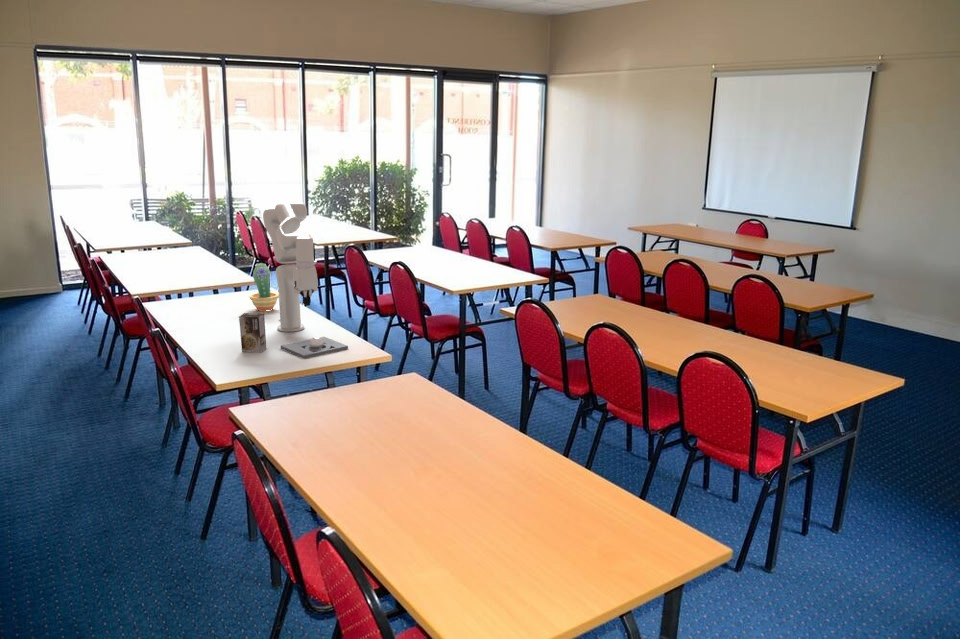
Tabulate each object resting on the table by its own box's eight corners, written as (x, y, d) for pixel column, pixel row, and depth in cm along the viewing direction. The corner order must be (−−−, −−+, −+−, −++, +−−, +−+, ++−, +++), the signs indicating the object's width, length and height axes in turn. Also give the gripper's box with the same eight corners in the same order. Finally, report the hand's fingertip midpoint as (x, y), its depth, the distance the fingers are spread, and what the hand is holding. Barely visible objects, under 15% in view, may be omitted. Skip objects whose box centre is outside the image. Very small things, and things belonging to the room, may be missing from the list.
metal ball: (310, 339, 317) (313, 352, 318) (324, 336, 320) (326, 349, 321) (306, 338, 322) (308, 351, 323) (319, 335, 325) (321, 348, 326)
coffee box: (267, 348, 323) (264, 313, 319) (261, 353, 317) (259, 316, 313) (247, 347, 324) (244, 312, 320) (241, 352, 318) (238, 316, 314)
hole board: (280, 348, 324) (280, 345, 323) (324, 339, 338) (324, 336, 338) (303, 358, 310) (303, 355, 309) (348, 349, 324) (348, 345, 324)
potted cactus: (244, 311, 388) (240, 265, 382) (260, 305, 403) (257, 260, 396) (269, 314, 384) (266, 267, 378) (285, 307, 398) (282, 262, 392)
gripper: (316, 261, 329) (317, 301, 334) (285, 265, 320) (287, 305, 325) (324, 264, 324) (325, 304, 329) (293, 268, 314) (295, 309, 319)
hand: (306, 305), depth 327 cm, fingers closed
